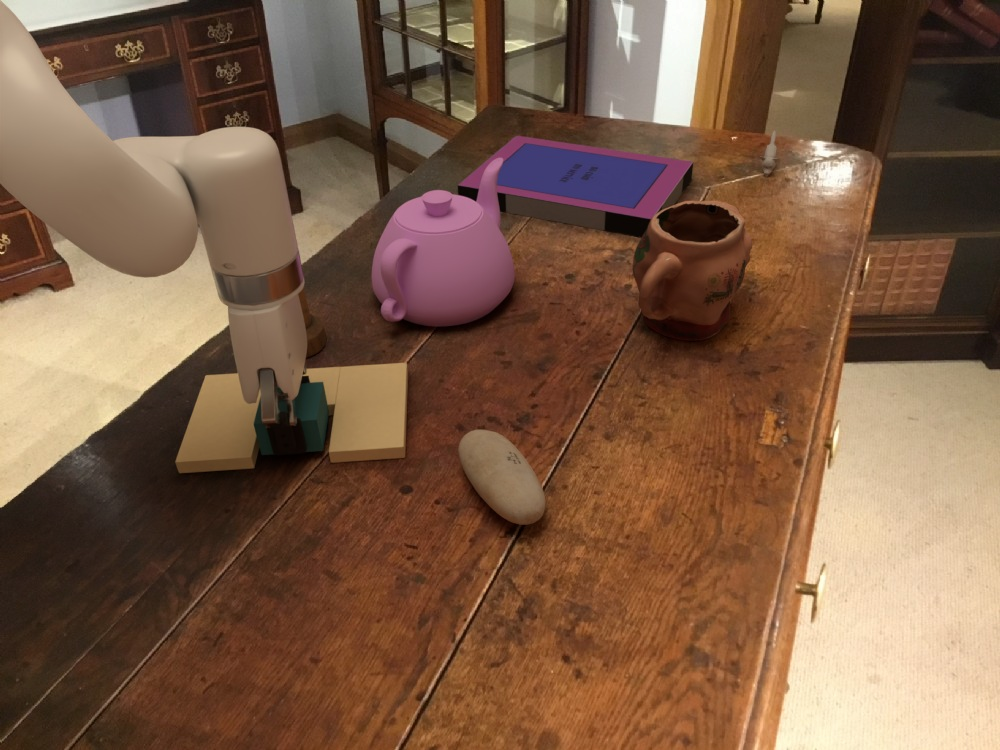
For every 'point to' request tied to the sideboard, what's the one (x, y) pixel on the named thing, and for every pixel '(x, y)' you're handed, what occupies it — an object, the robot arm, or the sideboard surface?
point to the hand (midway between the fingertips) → (294, 428)
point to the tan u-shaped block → (351, 399)
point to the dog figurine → (770, 156)
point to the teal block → (310, 411)
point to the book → (583, 184)
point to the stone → (502, 476)
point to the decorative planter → (691, 268)
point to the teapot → (444, 257)
